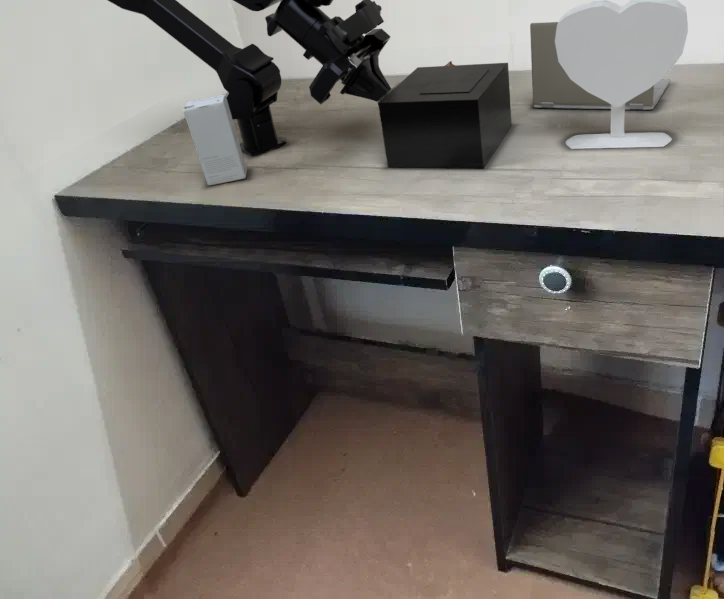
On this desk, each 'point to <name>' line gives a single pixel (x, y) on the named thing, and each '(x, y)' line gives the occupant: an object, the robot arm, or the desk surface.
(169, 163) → the desk surface
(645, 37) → the heart sculpture
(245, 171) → the cosmetic box
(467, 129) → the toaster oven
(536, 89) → the laptop
